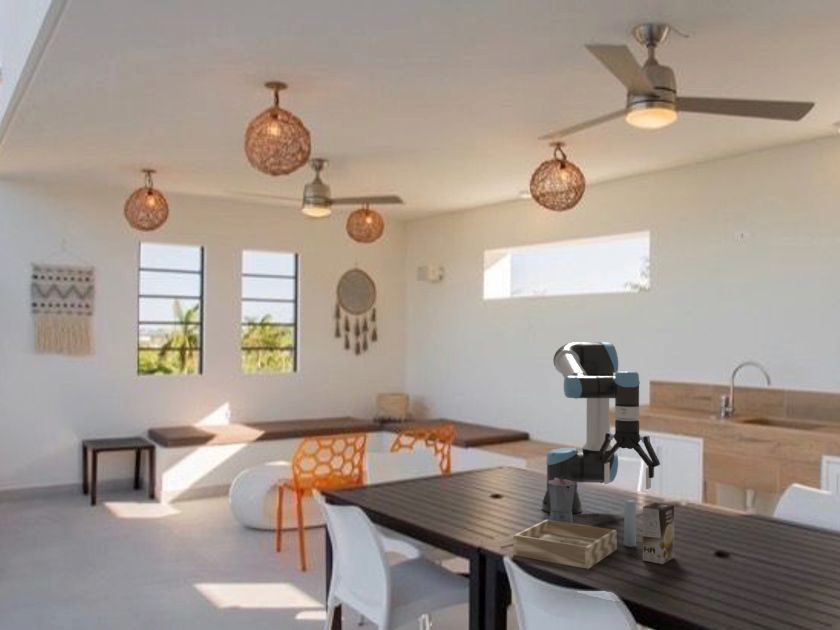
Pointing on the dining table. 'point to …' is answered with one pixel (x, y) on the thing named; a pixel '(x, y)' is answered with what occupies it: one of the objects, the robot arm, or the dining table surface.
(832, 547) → the dining table surface
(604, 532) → the box
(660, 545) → the coffee box
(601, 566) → the dining table surface
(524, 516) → the dining table surface
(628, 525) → the peg
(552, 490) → the moka pot
